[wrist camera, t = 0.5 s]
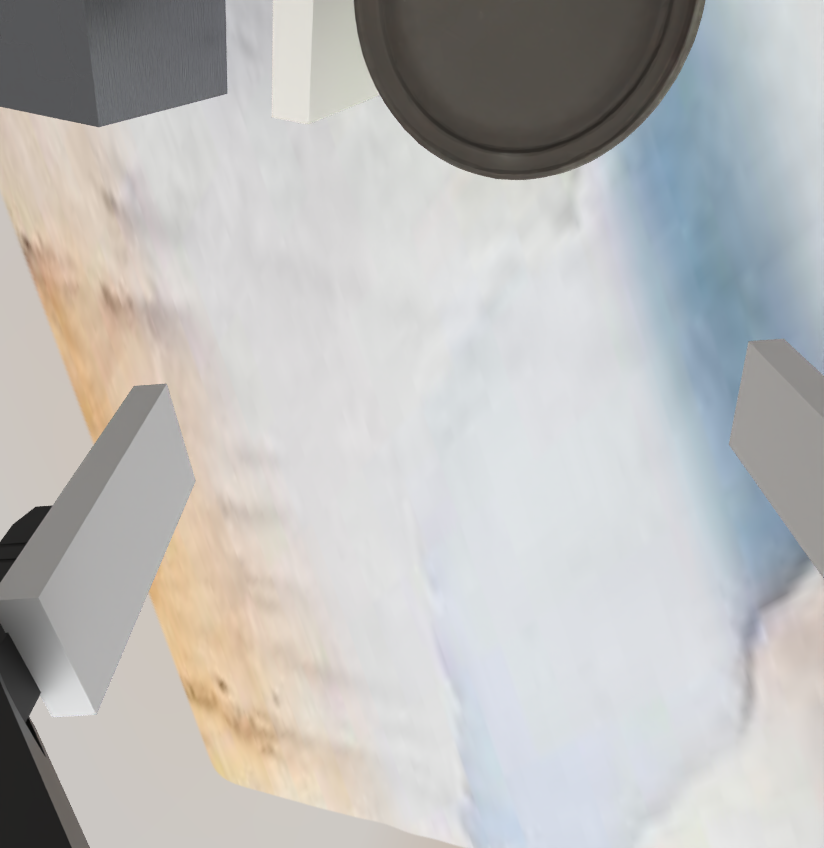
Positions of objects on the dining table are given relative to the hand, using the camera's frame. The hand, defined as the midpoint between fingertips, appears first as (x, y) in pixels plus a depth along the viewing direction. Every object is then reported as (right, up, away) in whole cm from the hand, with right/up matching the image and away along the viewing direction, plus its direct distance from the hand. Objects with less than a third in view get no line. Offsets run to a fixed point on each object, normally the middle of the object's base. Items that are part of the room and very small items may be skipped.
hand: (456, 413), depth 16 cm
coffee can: (+6, +19, +16) cm, 26 cm away
